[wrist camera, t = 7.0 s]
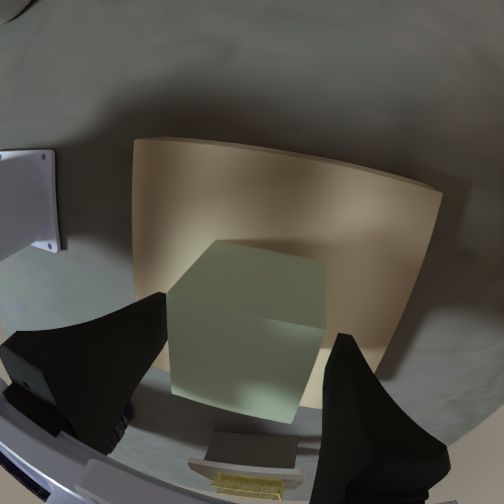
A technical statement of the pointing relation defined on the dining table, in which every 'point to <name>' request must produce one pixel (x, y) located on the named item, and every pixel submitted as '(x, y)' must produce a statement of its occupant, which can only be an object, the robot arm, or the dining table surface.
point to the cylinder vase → (11, 9)
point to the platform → (251, 463)
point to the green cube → (246, 329)
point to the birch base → (285, 229)
